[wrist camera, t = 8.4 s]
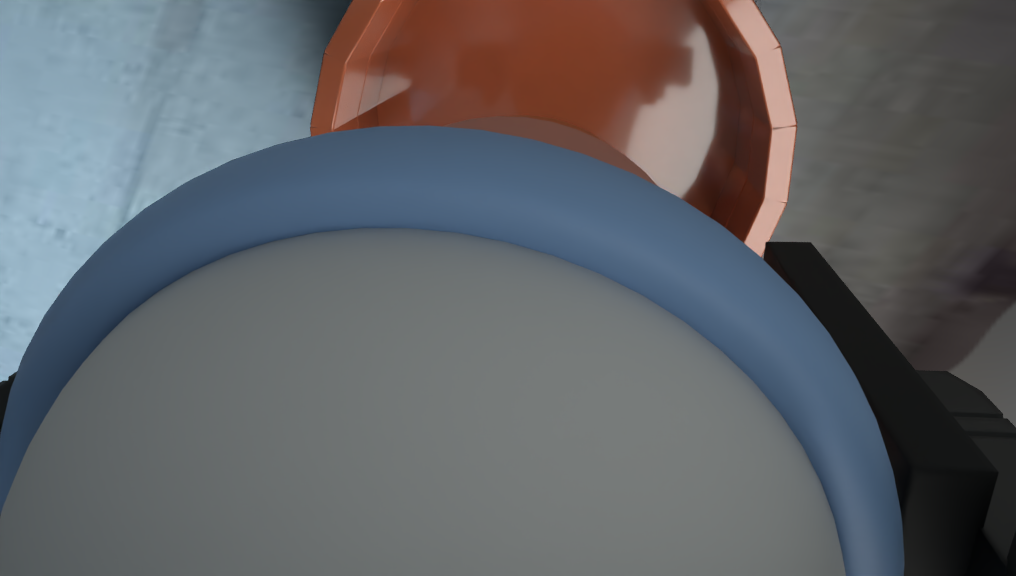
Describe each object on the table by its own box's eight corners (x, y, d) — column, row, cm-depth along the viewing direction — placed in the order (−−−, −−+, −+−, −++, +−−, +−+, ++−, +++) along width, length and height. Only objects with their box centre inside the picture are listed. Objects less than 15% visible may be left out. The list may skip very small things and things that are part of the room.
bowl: (344, -81, 27) (281, -97, 22) (779, -96, 26) (828, -117, 20) (381, 303, 33) (338, 367, 28) (736, 312, 32) (765, 382, 26)
